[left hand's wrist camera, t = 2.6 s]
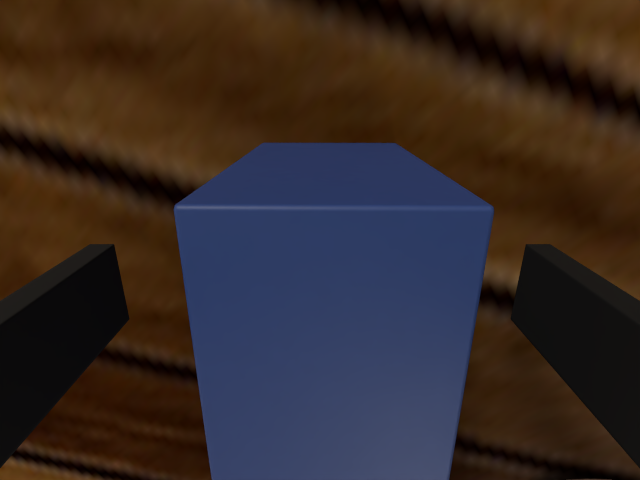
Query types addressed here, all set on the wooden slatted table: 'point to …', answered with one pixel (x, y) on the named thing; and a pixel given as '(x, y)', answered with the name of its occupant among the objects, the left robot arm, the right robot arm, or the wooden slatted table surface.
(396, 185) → the bar
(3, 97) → the wooden slatted table surface
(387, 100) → the wooden slatted table surface
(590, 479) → the anatomical model
